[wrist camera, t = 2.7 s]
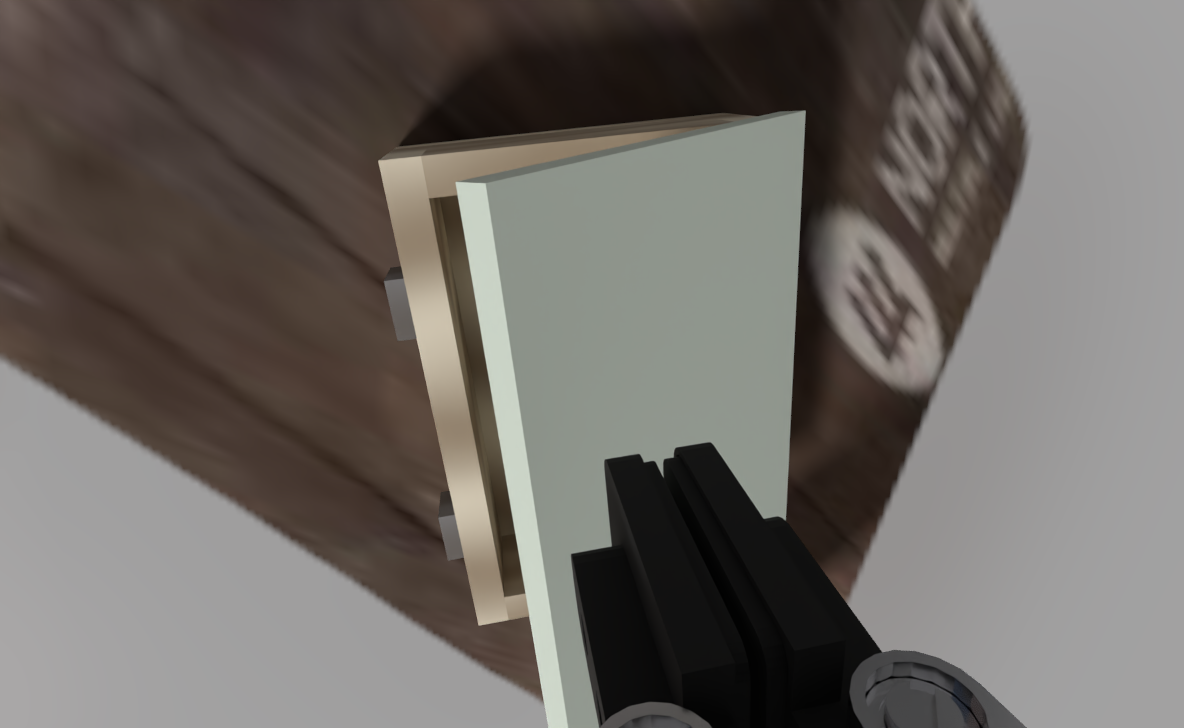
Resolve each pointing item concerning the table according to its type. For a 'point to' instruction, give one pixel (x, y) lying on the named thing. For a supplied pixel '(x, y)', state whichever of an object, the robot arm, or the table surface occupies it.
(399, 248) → the beige box
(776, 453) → the lid
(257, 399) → the table surface
